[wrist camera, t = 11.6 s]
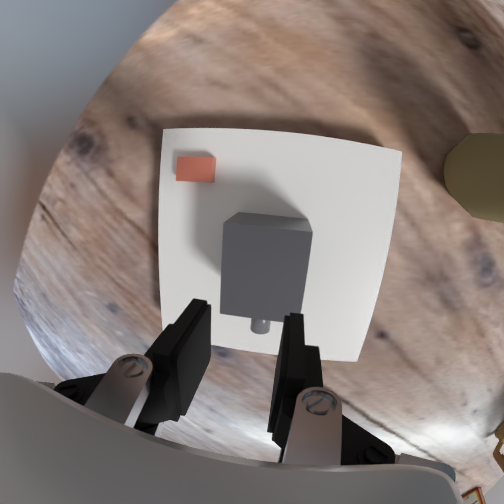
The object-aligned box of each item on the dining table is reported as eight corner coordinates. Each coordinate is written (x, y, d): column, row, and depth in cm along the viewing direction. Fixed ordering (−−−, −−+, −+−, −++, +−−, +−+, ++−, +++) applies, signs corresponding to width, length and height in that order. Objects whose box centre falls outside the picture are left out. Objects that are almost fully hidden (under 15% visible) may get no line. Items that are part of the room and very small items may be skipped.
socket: (389, 153, 21) (406, 151, 17) (351, 345, 27) (358, 367, 23) (177, 133, 24) (158, 127, 20) (173, 320, 29) (159, 339, 26)
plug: (244, 207, 24) (223, 222, 17) (306, 214, 24) (313, 232, 16) (238, 297, 27) (219, 340, 20) (294, 304, 26) (293, 351, 19)
